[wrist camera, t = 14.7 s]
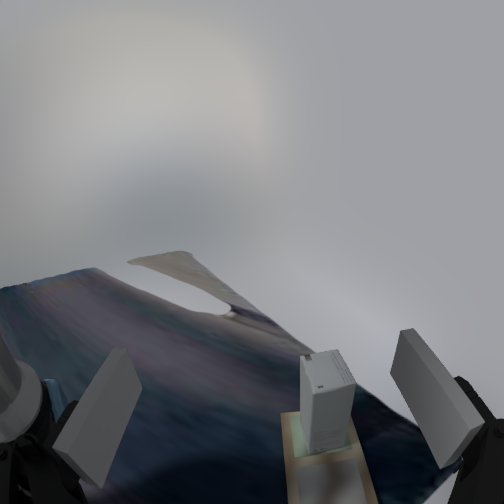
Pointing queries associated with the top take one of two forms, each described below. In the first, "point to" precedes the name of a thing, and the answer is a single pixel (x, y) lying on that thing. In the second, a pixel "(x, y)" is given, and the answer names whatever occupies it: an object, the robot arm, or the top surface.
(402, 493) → the top surface
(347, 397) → the skincare box
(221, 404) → the top surface
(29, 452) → the robot arm
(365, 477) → the board
